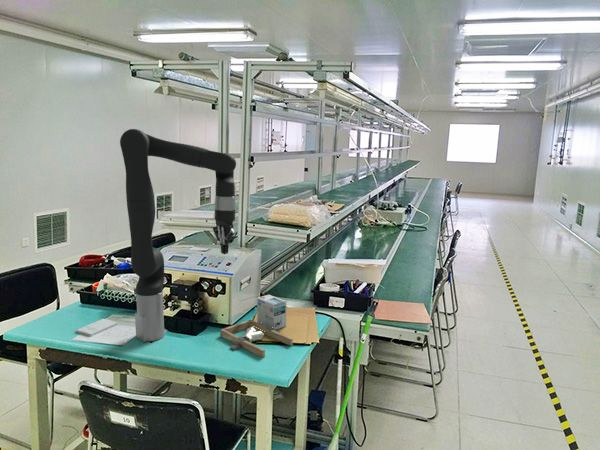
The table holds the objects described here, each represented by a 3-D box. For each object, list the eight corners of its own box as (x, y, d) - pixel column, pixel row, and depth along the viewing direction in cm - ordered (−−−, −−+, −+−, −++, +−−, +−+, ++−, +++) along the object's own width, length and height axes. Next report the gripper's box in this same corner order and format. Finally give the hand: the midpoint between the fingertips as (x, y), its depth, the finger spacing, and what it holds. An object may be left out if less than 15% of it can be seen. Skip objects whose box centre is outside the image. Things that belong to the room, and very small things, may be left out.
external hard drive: (117, 326, 183) (91, 337, 172) (103, 322, 187) (76, 333, 176) (117, 322, 183) (90, 333, 172) (102, 318, 186) (75, 329, 175)
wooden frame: (262, 357, 158) (262, 350, 157) (220, 335, 174) (220, 329, 174) (292, 345, 168) (292, 338, 167) (250, 325, 184) (250, 319, 184)
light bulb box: (286, 326, 184) (287, 300, 182) (274, 331, 180) (274, 304, 178) (269, 318, 192) (269, 293, 190) (256, 323, 187) (256, 297, 185)
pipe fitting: (264, 338, 174) (246, 335, 175) (265, 328, 174) (247, 326, 174) (259, 347, 167) (241, 345, 167) (260, 337, 166) (241, 334, 167)
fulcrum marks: (234, 350, 163) (234, 343, 162) (229, 348, 165) (229, 340, 164) (280, 333, 178) (280, 326, 177) (274, 330, 180) (274, 324, 179)
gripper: (206, 206, 174) (206, 251, 177) (227, 211, 165) (226, 258, 168) (222, 204, 179) (222, 248, 183) (244, 209, 170) (243, 255, 173)
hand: (224, 253), depth 175 cm, fingers closed
